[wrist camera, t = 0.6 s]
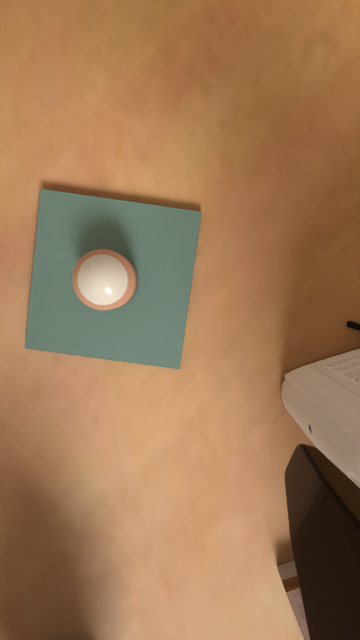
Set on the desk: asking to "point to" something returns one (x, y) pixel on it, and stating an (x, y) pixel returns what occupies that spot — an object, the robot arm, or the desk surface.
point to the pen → (353, 325)
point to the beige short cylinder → (105, 279)
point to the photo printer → (329, 408)
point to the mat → (135, 245)
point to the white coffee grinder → (294, 594)
